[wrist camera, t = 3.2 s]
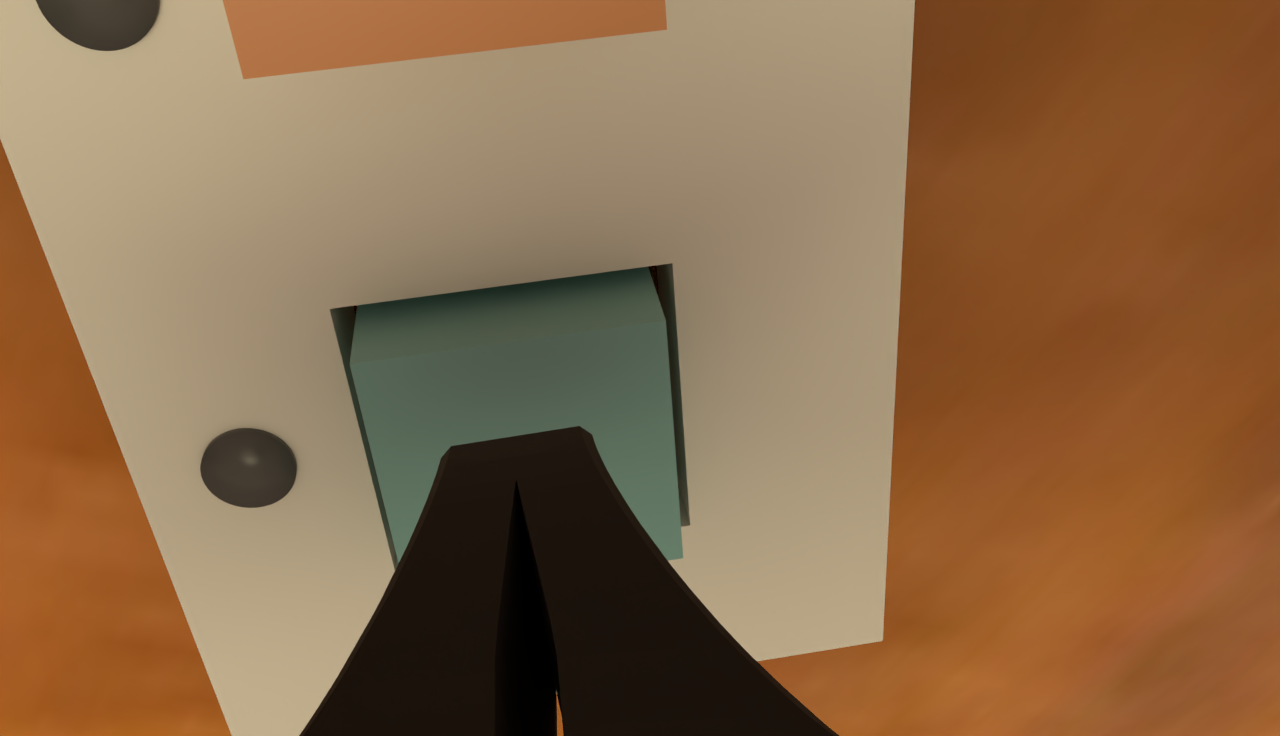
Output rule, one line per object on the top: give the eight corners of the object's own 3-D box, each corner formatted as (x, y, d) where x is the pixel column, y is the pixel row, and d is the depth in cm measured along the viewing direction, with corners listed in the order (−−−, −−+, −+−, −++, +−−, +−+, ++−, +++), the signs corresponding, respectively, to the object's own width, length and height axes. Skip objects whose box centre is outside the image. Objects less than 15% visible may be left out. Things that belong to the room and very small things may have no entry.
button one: (636, 230, 19) (666, 320, 16) (654, 449, 21) (683, 557, 19) (362, 266, 18) (349, 364, 16) (412, 485, 21) (407, 600, 18)
